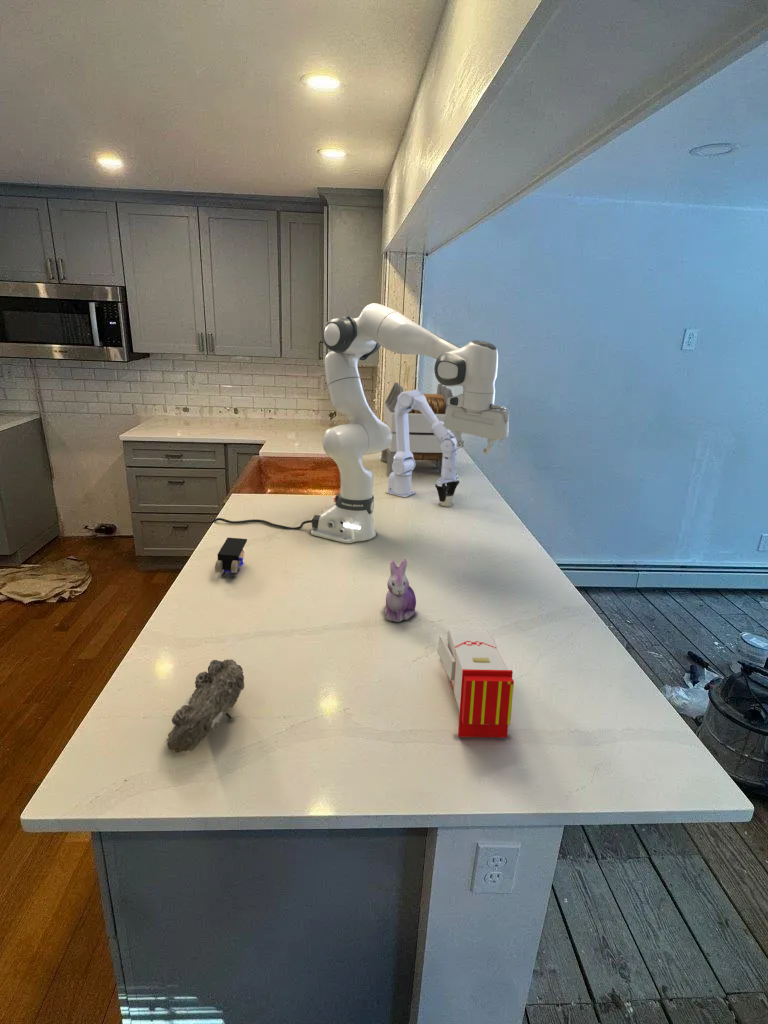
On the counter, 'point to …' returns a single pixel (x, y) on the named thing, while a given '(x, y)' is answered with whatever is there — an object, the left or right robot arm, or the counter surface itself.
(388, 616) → the figurine
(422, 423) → the transformer
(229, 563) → the figurine character
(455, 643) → the toy
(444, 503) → the canister
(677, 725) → the counter surface
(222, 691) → the fossil
